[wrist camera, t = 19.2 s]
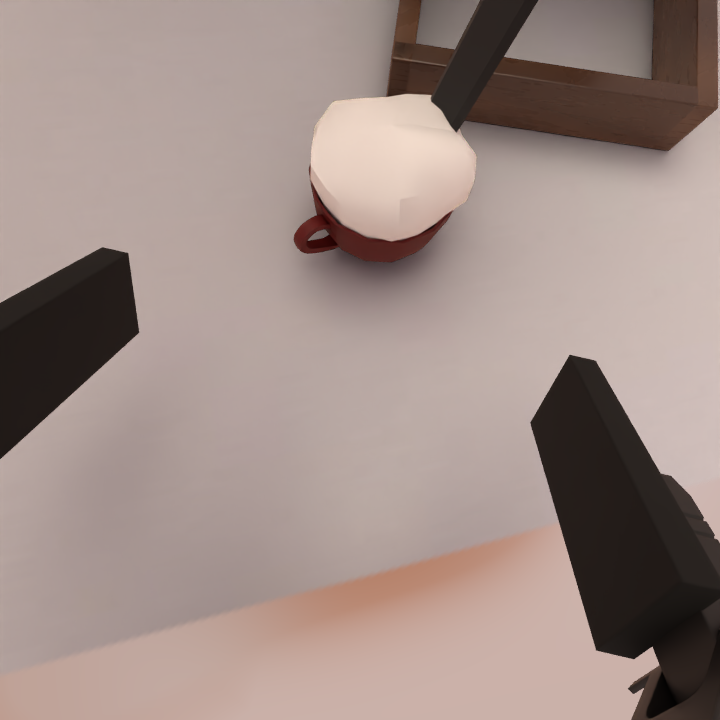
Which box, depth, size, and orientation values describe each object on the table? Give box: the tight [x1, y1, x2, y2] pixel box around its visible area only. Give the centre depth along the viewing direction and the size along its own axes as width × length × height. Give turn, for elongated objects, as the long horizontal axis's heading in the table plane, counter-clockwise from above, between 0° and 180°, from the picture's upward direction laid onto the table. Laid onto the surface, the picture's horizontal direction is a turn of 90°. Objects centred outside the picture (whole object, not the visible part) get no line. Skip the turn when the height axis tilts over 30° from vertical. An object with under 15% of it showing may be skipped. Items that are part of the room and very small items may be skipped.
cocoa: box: [294, 0, 538, 262], centre depth 15 cm, size 10×6×12 cm, turn 104°
